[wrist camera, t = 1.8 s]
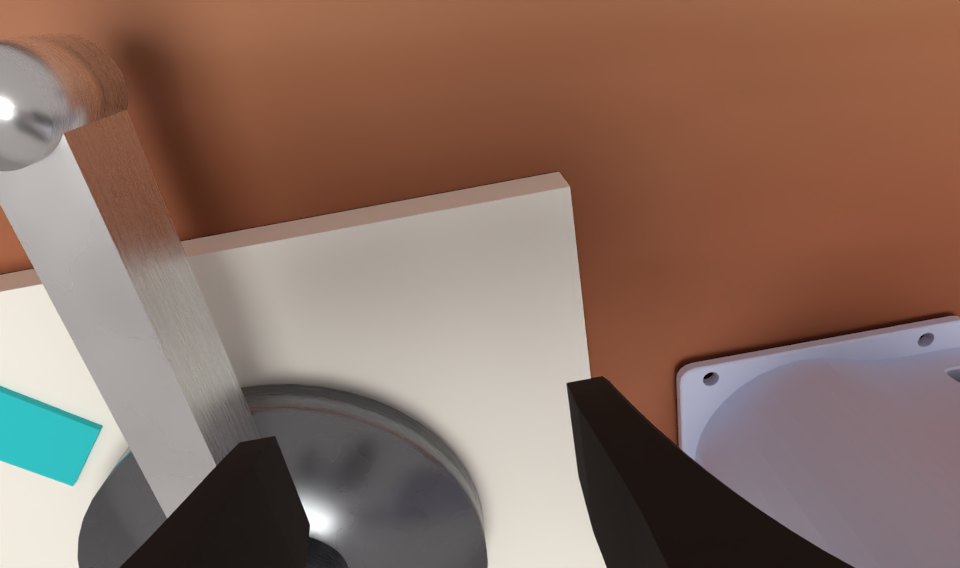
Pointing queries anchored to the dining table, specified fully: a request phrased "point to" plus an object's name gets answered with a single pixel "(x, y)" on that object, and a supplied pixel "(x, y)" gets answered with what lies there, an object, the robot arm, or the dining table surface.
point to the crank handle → (194, 344)
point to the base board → (347, 358)
